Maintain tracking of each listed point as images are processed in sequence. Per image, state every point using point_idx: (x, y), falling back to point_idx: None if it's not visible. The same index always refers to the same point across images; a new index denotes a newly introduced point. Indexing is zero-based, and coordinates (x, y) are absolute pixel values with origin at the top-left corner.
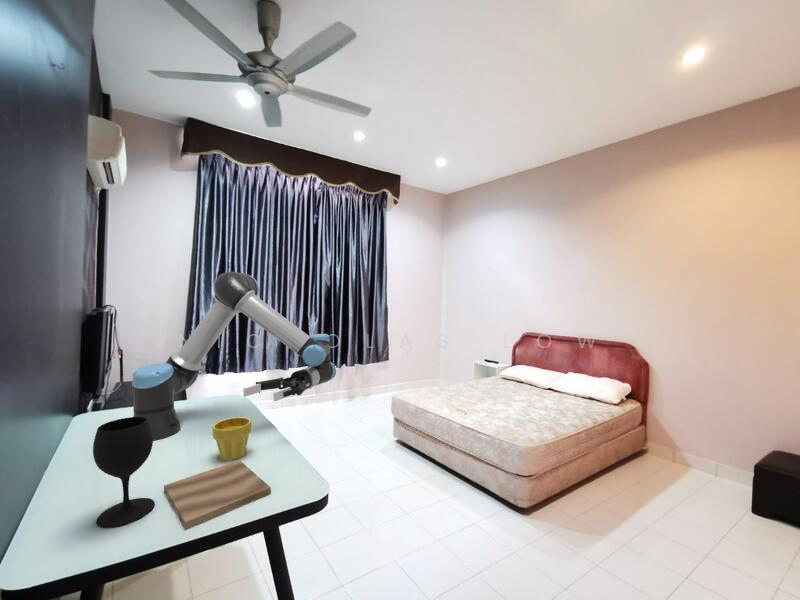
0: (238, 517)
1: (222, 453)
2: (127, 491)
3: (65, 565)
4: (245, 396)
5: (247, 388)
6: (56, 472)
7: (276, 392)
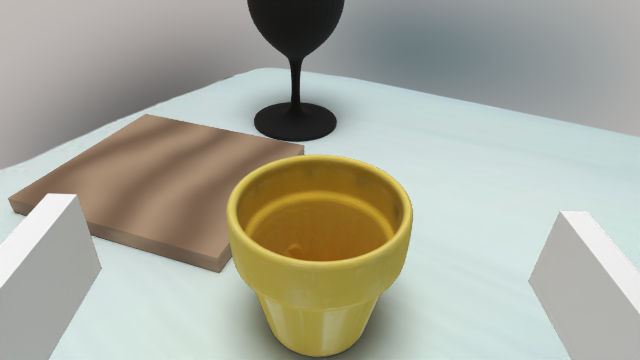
0: (62, 155)
1: (314, 254)
2: (292, 85)
3: (250, 81)
4: (531, 282)
5: (575, 241)
6: (608, 137)
7: (38, 208)
